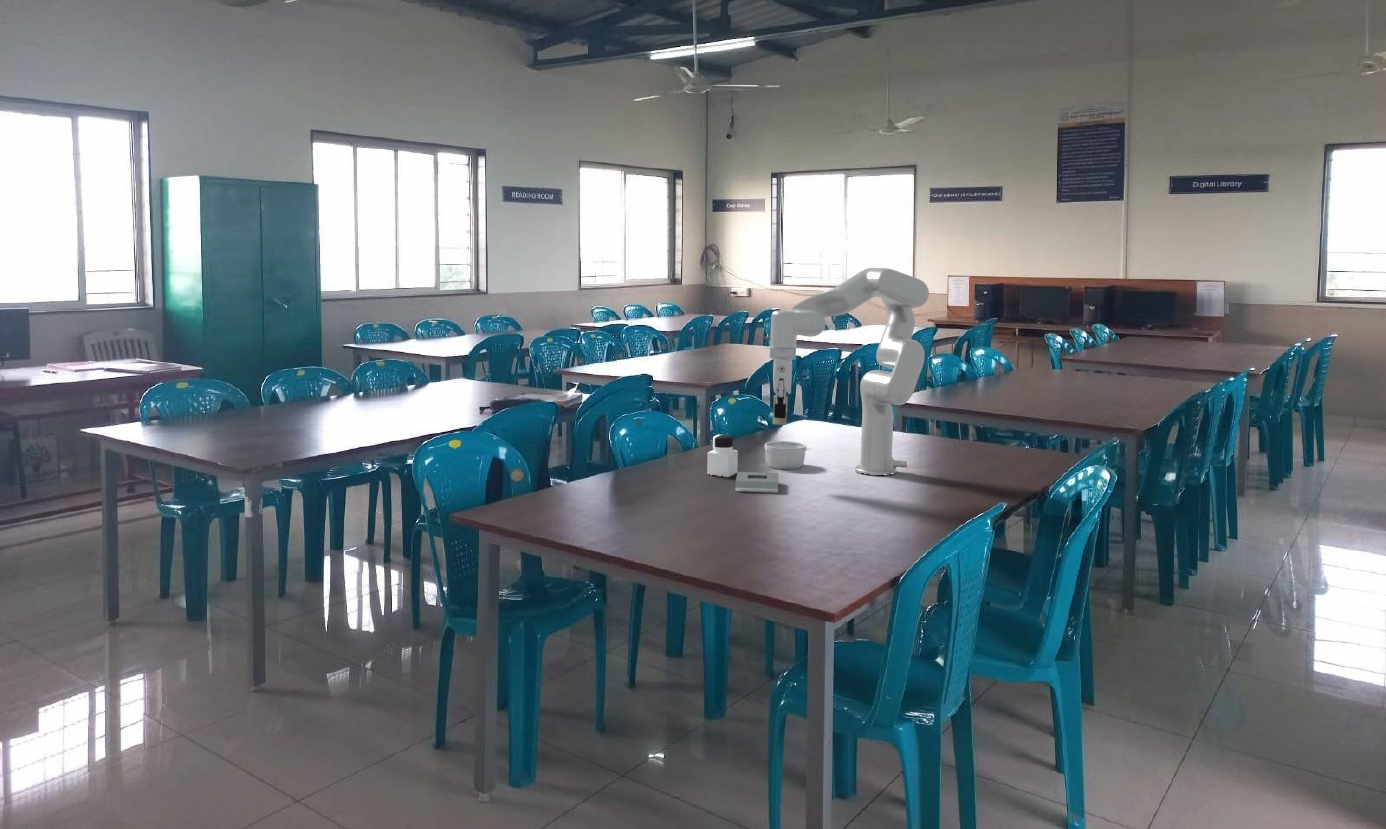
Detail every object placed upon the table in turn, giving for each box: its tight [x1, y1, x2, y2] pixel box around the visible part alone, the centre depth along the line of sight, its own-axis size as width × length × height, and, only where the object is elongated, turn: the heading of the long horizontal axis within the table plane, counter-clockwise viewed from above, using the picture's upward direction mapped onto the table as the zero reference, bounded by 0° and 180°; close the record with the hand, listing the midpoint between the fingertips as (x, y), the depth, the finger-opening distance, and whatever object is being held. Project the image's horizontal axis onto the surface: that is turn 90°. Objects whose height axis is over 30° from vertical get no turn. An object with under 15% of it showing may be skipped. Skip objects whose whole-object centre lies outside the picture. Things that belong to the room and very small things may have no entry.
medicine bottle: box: [706, 433, 739, 478], centre depth 313 cm, size 7×7×12 cm
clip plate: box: [735, 471, 779, 493], centre depth 297 cm, size 12×12×3 cm
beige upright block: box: [772, 395, 789, 426], centre depth 299 cm, size 4×3×8 cm
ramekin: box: [764, 440, 807, 470], centre depth 326 cm, size 13×13×7 cm
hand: (779, 416), depth 299 cm, fingers closed on beige upright block, 3 cm apart
